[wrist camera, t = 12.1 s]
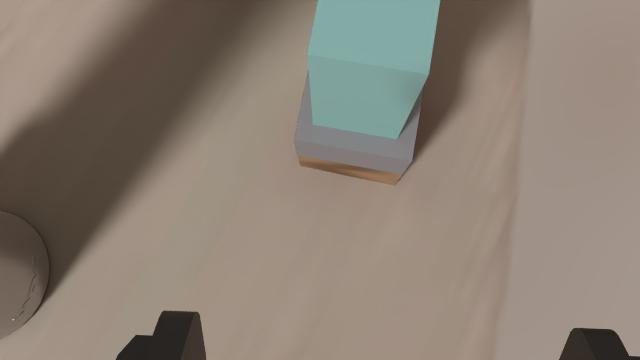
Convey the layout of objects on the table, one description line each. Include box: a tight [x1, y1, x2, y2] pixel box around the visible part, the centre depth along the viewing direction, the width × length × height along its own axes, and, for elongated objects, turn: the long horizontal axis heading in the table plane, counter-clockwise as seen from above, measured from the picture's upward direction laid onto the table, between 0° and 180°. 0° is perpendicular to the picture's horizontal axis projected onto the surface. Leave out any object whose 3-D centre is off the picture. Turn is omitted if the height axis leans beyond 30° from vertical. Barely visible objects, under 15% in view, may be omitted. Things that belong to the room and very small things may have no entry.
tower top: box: [294, 69, 425, 175], centre depth 34 cm, size 7×7×4 cm
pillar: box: [307, 0, 440, 139], centre depth 27 cm, size 5×5×10 cm
